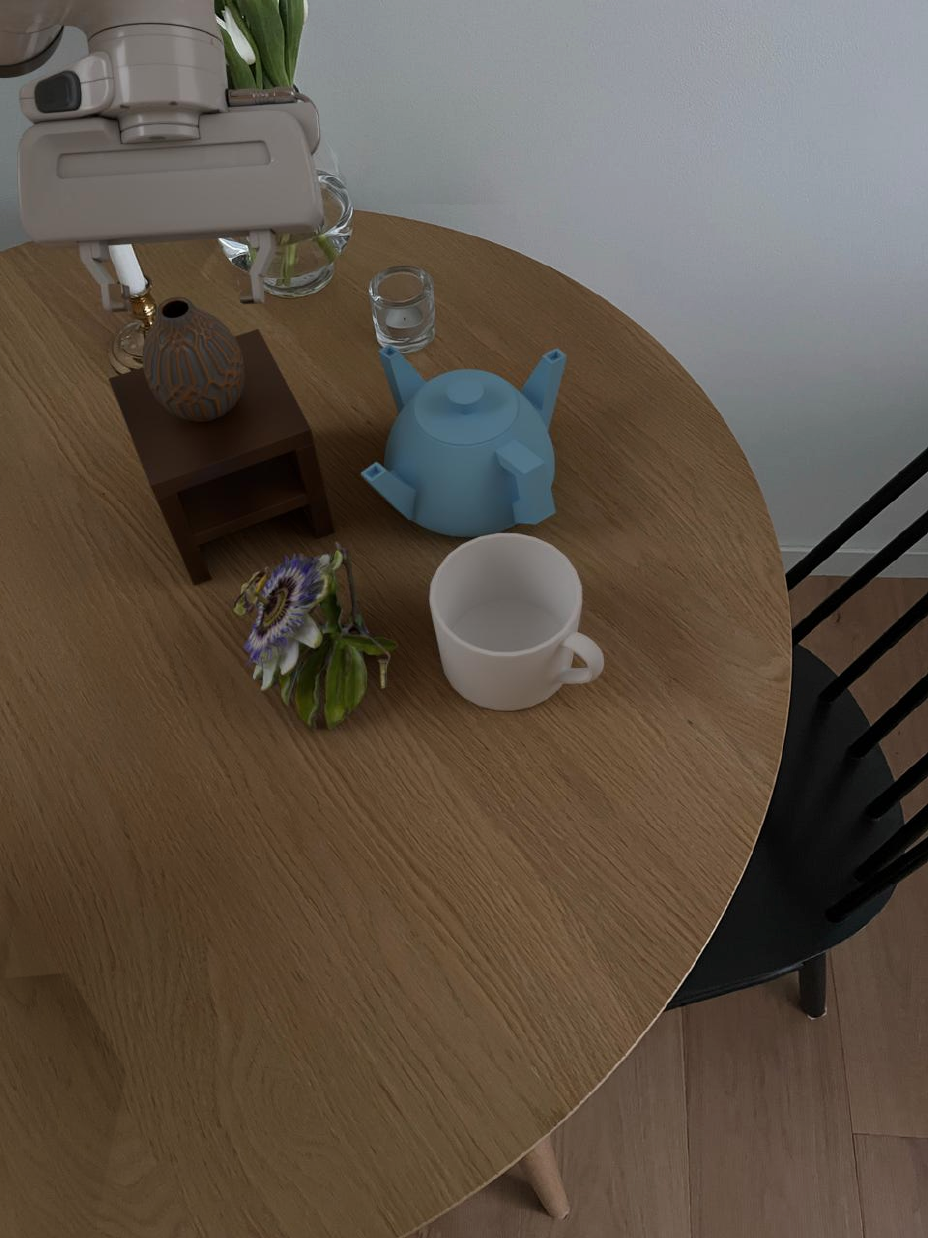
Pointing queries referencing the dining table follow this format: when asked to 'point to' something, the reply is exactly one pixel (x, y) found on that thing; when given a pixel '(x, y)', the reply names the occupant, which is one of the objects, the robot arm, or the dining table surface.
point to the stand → (227, 457)
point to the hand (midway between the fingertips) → (185, 307)
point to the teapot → (469, 447)
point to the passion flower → (310, 636)
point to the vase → (192, 362)
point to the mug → (510, 621)
